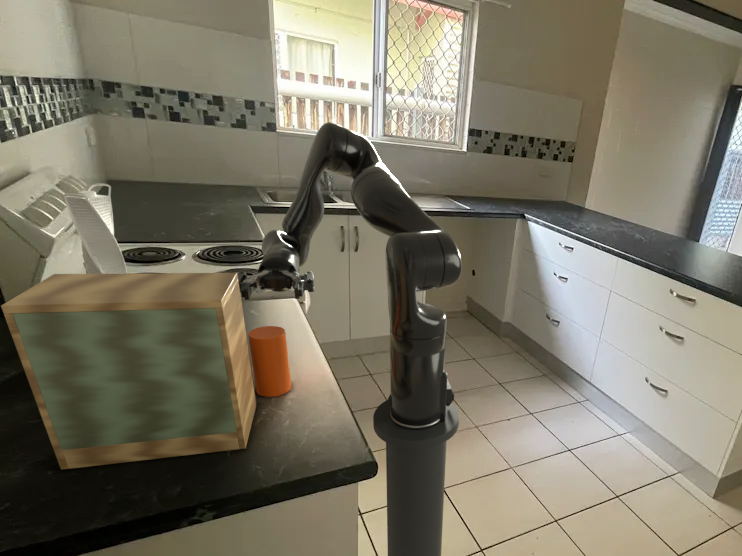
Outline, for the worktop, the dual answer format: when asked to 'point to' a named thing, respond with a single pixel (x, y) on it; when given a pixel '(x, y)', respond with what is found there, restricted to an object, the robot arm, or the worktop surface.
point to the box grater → (96, 231)
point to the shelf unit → (136, 364)
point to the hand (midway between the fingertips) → (272, 294)
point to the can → (270, 360)
